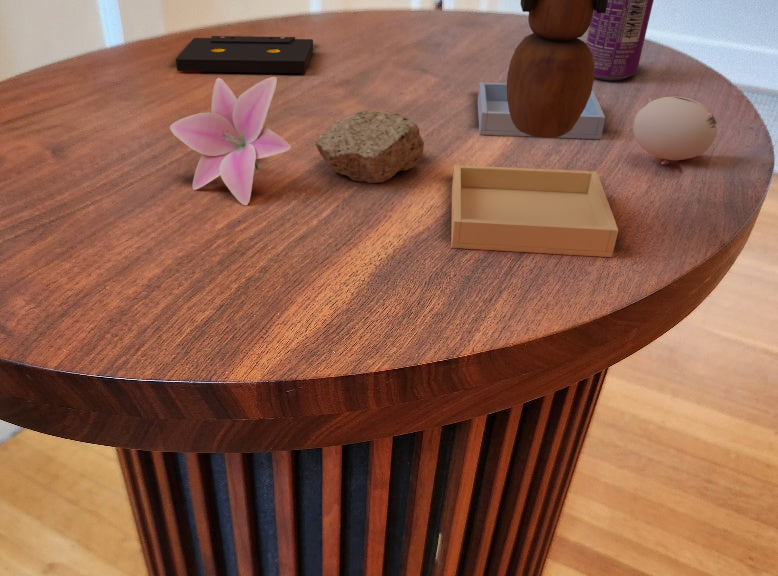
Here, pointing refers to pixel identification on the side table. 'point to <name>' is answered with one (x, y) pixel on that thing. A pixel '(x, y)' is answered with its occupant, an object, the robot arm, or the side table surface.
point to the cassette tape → (246, 54)
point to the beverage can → (618, 38)
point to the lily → (232, 137)
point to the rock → (371, 145)
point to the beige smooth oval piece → (674, 128)
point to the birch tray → (531, 211)
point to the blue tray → (499, 122)
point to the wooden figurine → (552, 69)
